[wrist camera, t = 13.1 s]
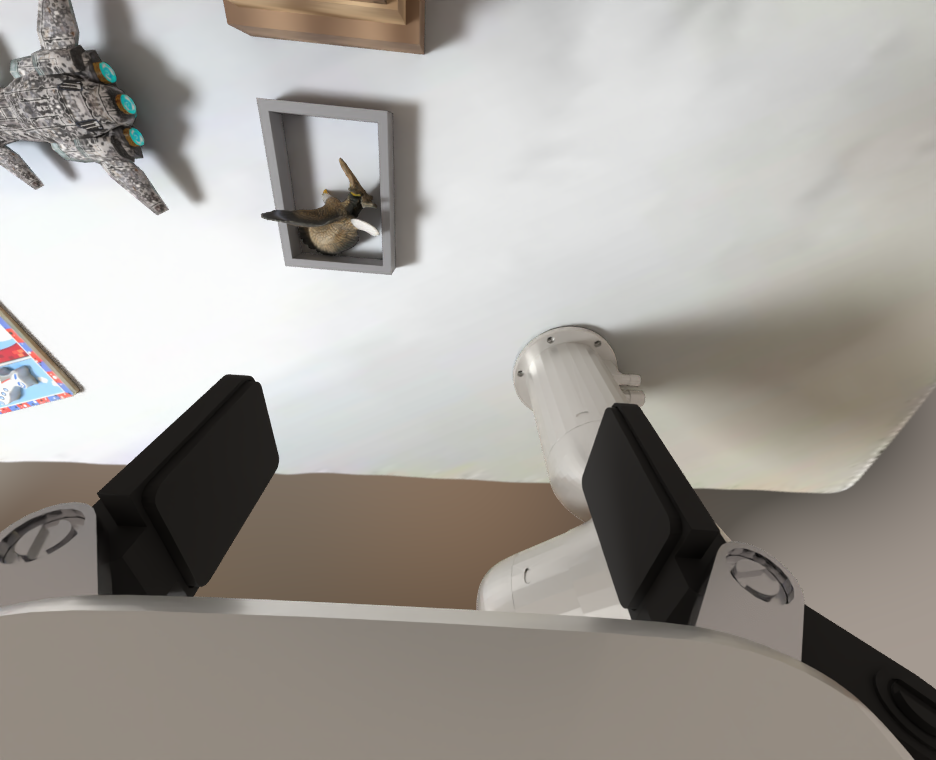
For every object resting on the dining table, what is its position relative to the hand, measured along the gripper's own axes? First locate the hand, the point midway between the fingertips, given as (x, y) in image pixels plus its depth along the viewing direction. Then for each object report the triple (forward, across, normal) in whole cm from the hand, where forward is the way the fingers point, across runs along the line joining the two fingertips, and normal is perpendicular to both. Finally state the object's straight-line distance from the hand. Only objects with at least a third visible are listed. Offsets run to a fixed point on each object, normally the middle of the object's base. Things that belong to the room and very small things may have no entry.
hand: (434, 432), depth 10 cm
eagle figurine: (+33, +12, 0) cm, 35 cm away
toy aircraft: (+33, +37, -6) cm, 50 cm away
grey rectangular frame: (+32, +12, -2) cm, 35 cm away
